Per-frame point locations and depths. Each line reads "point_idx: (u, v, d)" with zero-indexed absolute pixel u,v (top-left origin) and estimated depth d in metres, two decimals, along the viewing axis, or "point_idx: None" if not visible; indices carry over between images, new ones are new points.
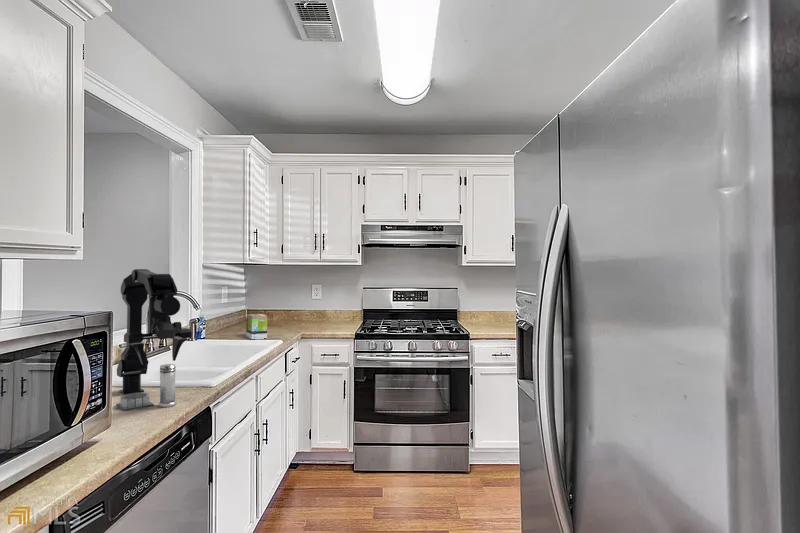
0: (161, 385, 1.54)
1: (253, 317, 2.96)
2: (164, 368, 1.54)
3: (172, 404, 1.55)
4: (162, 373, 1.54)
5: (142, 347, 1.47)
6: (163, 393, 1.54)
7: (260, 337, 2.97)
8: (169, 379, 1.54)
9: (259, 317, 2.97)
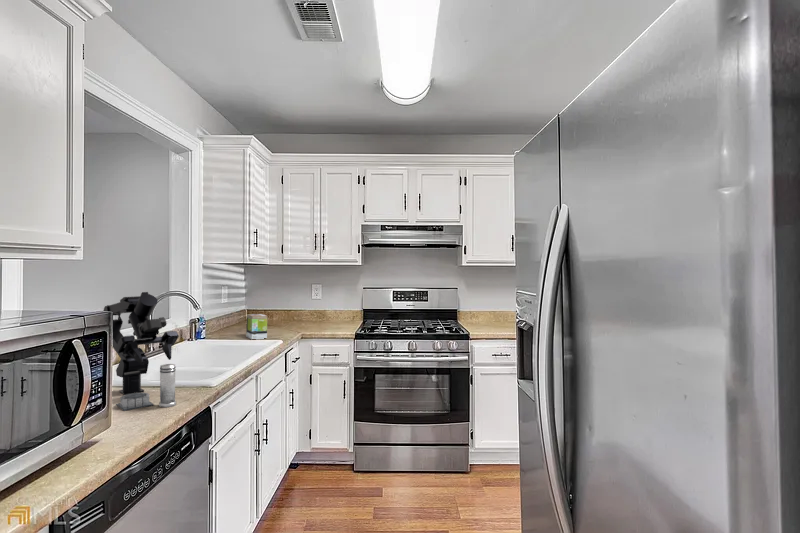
0: (161, 385, 1.54)
1: (253, 317, 2.96)
2: (164, 368, 1.54)
3: (172, 404, 1.55)
4: (162, 373, 1.54)
5: (136, 346, 1.58)
6: (163, 393, 1.54)
7: (260, 337, 2.97)
8: (169, 379, 1.54)
9: (259, 317, 2.97)
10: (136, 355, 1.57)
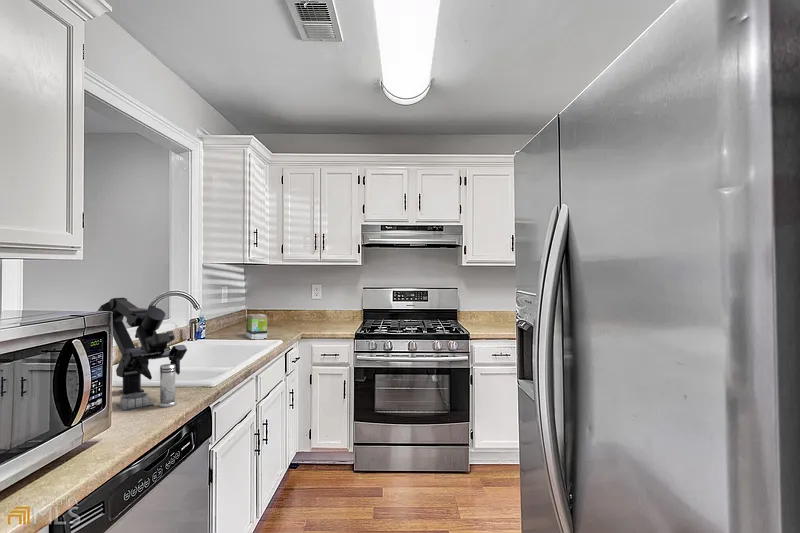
0: (161, 385, 1.54)
1: (253, 317, 2.96)
2: (164, 368, 1.54)
3: (172, 404, 1.55)
4: (162, 373, 1.54)
5: (144, 361, 1.55)
6: (163, 393, 1.54)
7: (260, 337, 2.97)
8: (169, 379, 1.54)
9: (259, 317, 2.97)
10: (144, 370, 1.54)
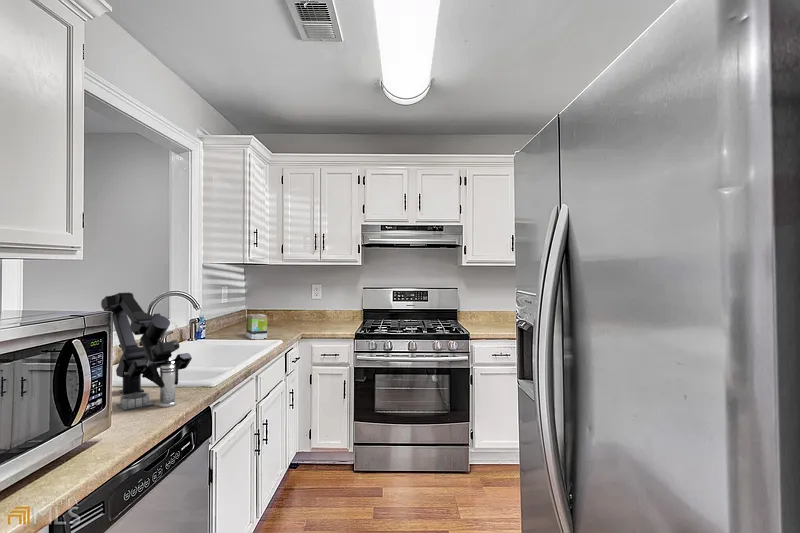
0: None
1: (253, 317, 2.96)
2: (164, 368, 1.54)
3: (172, 404, 1.55)
4: (162, 373, 1.54)
5: (156, 369, 1.54)
6: (163, 393, 1.54)
7: (260, 337, 2.97)
8: (169, 379, 1.54)
9: (259, 317, 2.97)
10: (156, 379, 1.54)
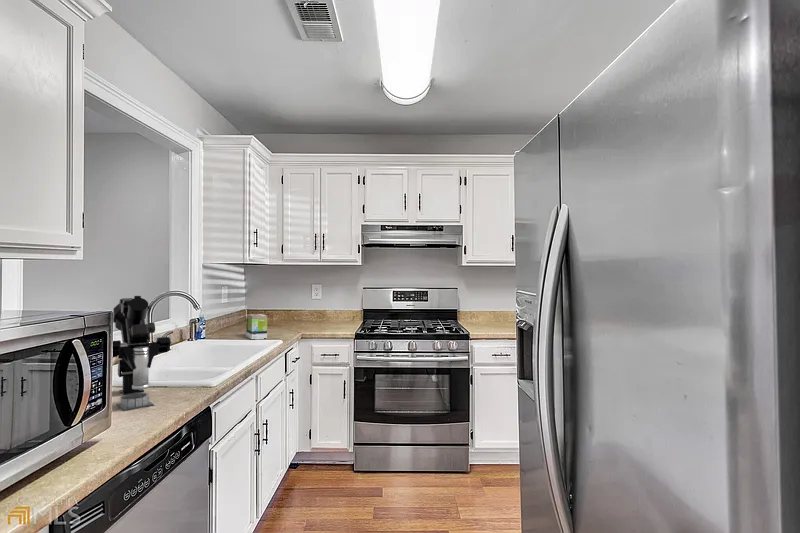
0: None
1: (253, 317, 2.96)
2: (135, 350, 1.53)
3: (143, 387, 1.54)
4: (134, 355, 1.54)
5: (129, 351, 1.55)
6: (134, 375, 1.54)
7: (260, 337, 2.97)
8: (140, 362, 1.53)
9: (259, 317, 2.97)
10: (128, 360, 1.54)
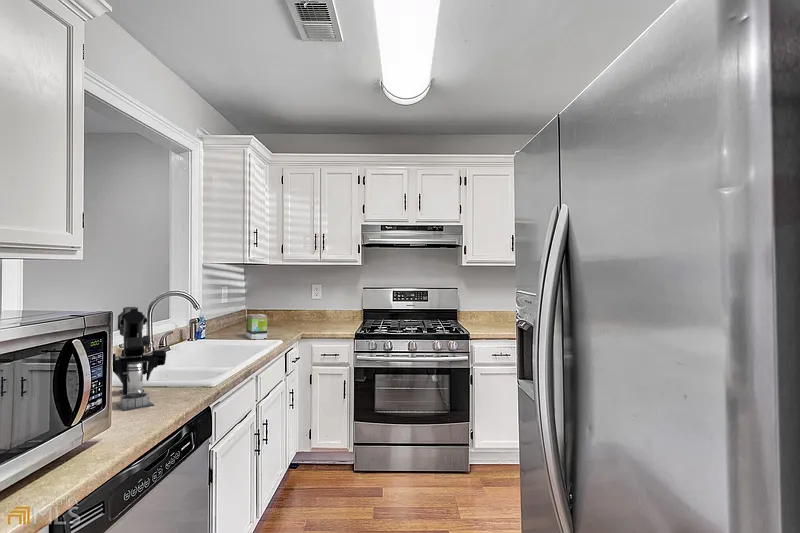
0: (127, 383, 1.54)
1: (253, 317, 2.96)
2: (129, 366, 1.54)
3: None
4: (127, 371, 1.54)
5: (120, 364, 1.54)
6: (128, 391, 1.54)
7: (260, 337, 2.97)
8: (133, 378, 1.54)
9: (259, 317, 2.97)
10: (118, 374, 1.54)
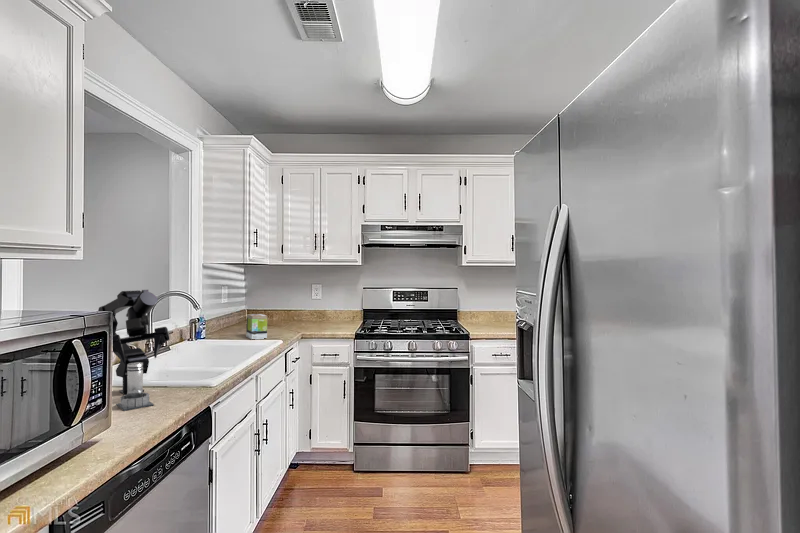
0: (127, 383, 1.54)
1: (253, 317, 2.96)
2: (129, 366, 1.54)
3: None
4: (127, 371, 1.54)
5: (120, 346, 1.60)
6: (128, 391, 1.54)
7: (260, 337, 2.97)
8: (133, 378, 1.54)
9: (259, 317, 2.97)
10: (120, 355, 1.60)
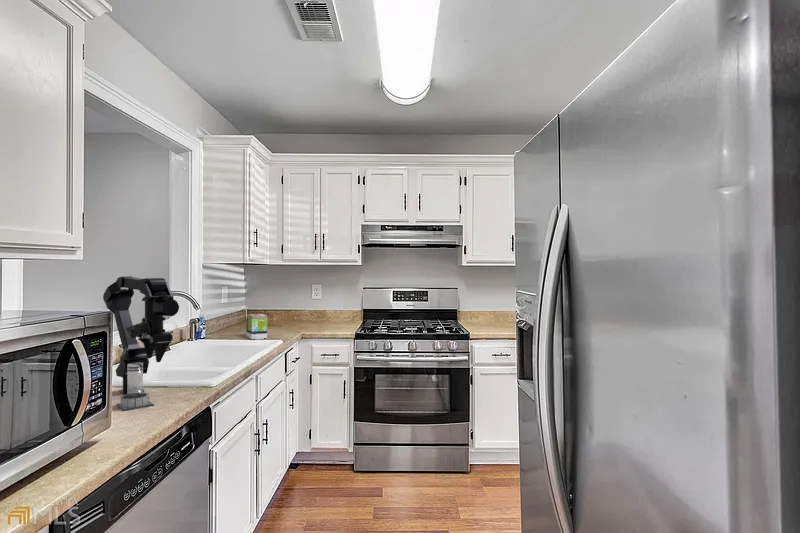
0: (127, 383, 1.54)
1: (253, 317, 2.96)
2: (129, 366, 1.54)
3: None
4: (127, 371, 1.54)
5: (143, 342, 1.67)
6: (128, 391, 1.54)
7: (260, 337, 2.97)
8: (133, 378, 1.54)
9: (259, 317, 2.97)
10: None
